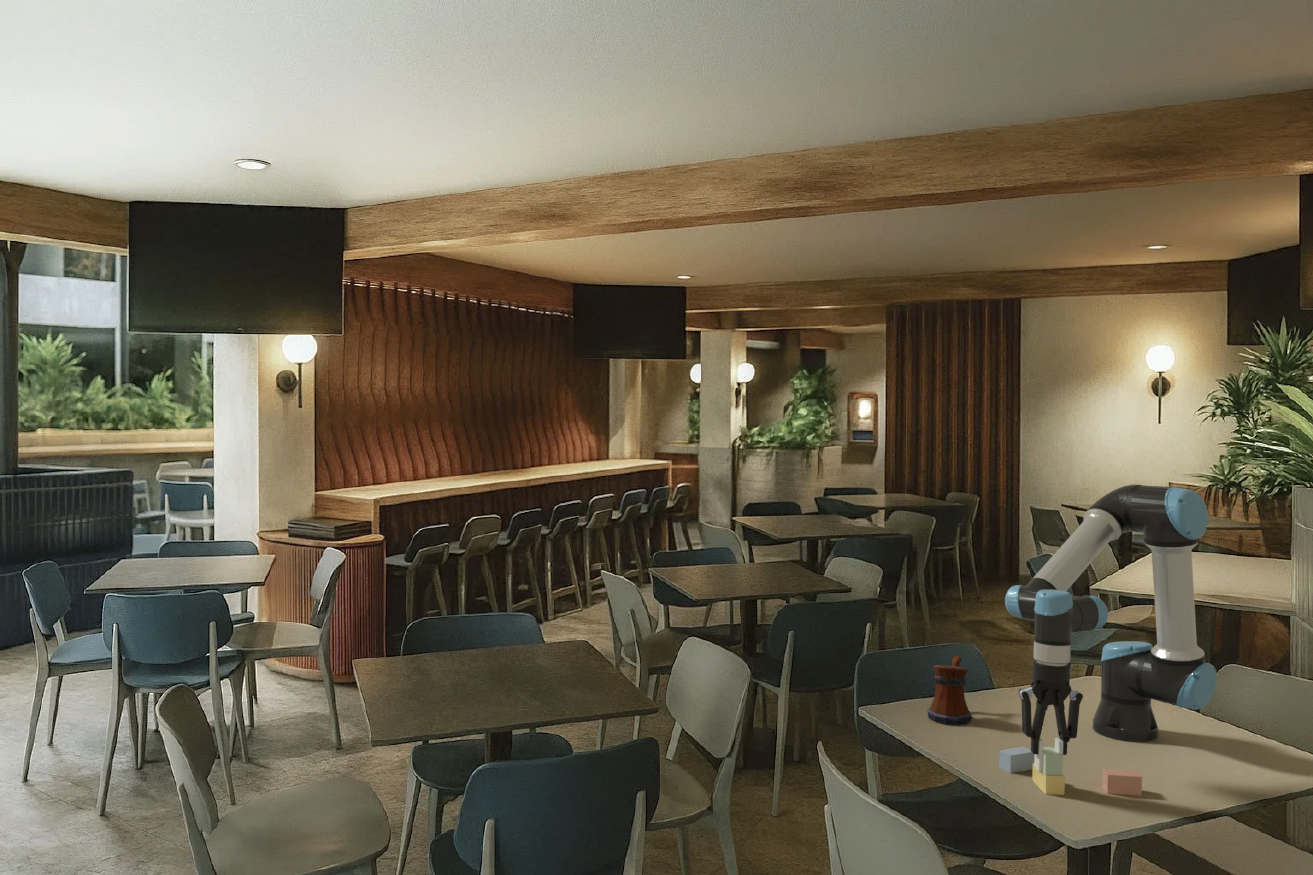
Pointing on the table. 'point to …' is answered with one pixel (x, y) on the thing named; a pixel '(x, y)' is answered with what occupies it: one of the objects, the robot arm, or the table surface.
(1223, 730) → the table surface
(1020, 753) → the slate brick
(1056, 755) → the sage brick
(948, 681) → the mug
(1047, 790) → the ochre brick
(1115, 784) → the terracotta brick
